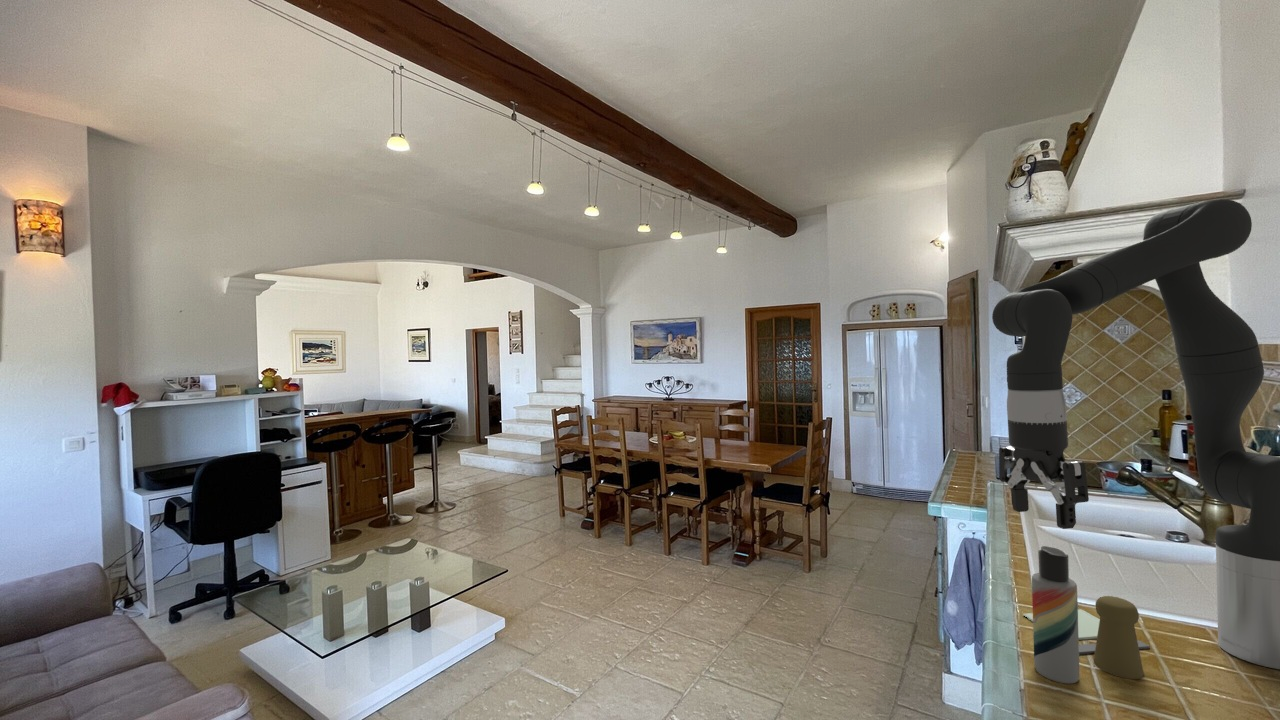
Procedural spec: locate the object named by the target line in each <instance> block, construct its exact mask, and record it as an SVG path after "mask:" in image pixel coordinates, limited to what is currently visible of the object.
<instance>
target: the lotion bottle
mask: <svg viewBox="0 0 1280 720" xmlns="http://www.w3.org/2000/svg"><path fill="white" fill-rule="evenodd" d="M1037 553H1038V554H1037V555H1038V572H1036V573H1033V574H1032V576H1031V598H1032V599H1031V600H1032V602H1031V603H1032V613H1033V622H1032V632H1033V633H1032V635H1033V638H1032V639H1033V660H1034V661H1033V662H1034V668H1035V670H1036V672H1037V673H1039V675H1041V676H1042V677H1045V678H1047V679H1048V680H1050V681H1054V682H1057V683H1061V684H1075V683H1077V682H1078V681H1079V680H1080V655H1079V645H1080V644H1079V643H1080V642H1079V641H1080V640H1079V636H1078V609H1079V608H1078V607H1079V606H1078V601H1079V600H1078V585H1077V582H1075V581H1074V580H1073V579H1071V578H1070V576H1069V575H1070V574H1069V572H1070V571H1069V570H1070V568H1069V566H1070V565H1069V554H1068V553H1067V552H1066V551H1064V550H1062V549H1061V548H1059V547H1058V548H1057V547H1054V546H1053V547H1052V546H1048V545H1047V546H1046V545H1042V546H1041V547H1040V548H1039V549H1038V551H1037Z"/></svg>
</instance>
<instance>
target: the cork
mask: <svg viewBox="0 0 1280 720" xmlns="http://www.w3.org/2000/svg"><path fill="white" fill-rule="evenodd" d="M1095 610H1096V614H1097V615H1098V616H1099V619H1100V621H1099V628H1098V635H1097V638H1096V648H1095V653H1094V656H1093V662H1094V663H1093V664H1095V666H1096V667H1098V668H1099V669H1100V670H1102V671H1104V672H1106V673H1107V674H1111V675H1113V676H1116V677H1120V678H1124V679H1130V680H1139V679H1141V678H1144V676H1145V674H1144V669H1143V668H1144V667H1143V663H1142V658H1141V653H1140V649H1139V647H1138V642H1137V640H1138V636H1137V632H1136V627H1135V625H1136V624H1137V623H1138V622H1139V618H1140V614H1139V611H1138V610H1139V609H1138V608H1137V607H1136V605H1134V603H1132V602H1131V601H1129V600H1127V599H1125V598H1120V597H1118V596H1113V595H1111V596H1110V595H1103V596H1099V597H1098V598H1097V599H1096V600H1095Z"/></svg>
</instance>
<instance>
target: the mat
mask: <svg viewBox="0 0 1280 720" xmlns="http://www.w3.org/2000/svg"><path fill="white" fill-rule="evenodd" d="M1024 616H1025V617H1027V618H1028V619H1027V618H1026V619H1027V620H1029V621H1030V620H1031V621H1030V622H1032V623H1033V612H1028V613H1022V617H1024ZM1025 617H1024V618H1025ZM1099 621H1100V618H1098V617H1097V616H1094V615H1093V614H1091V613H1089V612H1087V611H1085V610H1084V609H1081V608H1078V636H1079V641H1081V640H1093V639H1097V635H1098V628H1099Z"/></svg>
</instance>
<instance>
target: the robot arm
mask: <svg viewBox="0 0 1280 720" xmlns="http://www.w3.org/2000/svg"><path fill="white" fill-rule="evenodd" d="M1252 224H1253V222H1252V217H1251V214H1250V213H1249V210H1247V208H1246V207H1245V206H1244V205H1243V204H1242V203H1240V202H1238V201H1236V200H1232V199H1227V198H1217V199H1210V200H1208V199H1207V200H1202V201H1199V202H1195V203H1191V204H1187V205H1182V206H1180V207H1176V208H1172V209H1167V210H1164V211H1161V212H1158V213H1156V214H1154V215H1153V216H1151V217H1150V218H1149V219H1148V220H1147V222H1146V223H1145V225H1144V228H1143V231H1142V232H1143V233H1142V241H1138V242H1136V243H1133V244H1129V245H1128V246H1124V247H1121V248H1118V249H1116V250H1112V251H1109V252H1107V253H1104V254H1101V255H1099V256H1096V257H1093V258H1091V259H1089V260H1087V261H1085V262H1082V263H1080V264H1078V265H1076V266H1074V267H1072V268H1070V269H1068V270H1066V271H1064V272H1062V273H1060V274H1059V275H1057V276H1054V277H1052V278H1050V279H1047V280H1044V281H1041V282H1037V283H1034V284H1032V285H1028V286H1026V287H1024V288H1020V289H1018V290H1015V291H1013V292H1011V293H1009V294H1007V295H1005V296H1004V297H1003V298H1001V299H1000V300H999V301H998V302H997V303H996V305H995V306H994V308H993V311H992V314H991V315H992V316H991V318H992V319H991V320H992V323H993V325H994V327H995V328H996V329H997V330H998V331H999V332H1001V334H1004V335H1006V336H1010V337H1025V339H1024V344H1023V347H1022V349H1021V350H1020V351H1018V352H1015V353H1012V354H1010V355H1009V356H1008V357H1007V360H1006V381H1007V398H1006V412H1007V413H1006V414H1007V430H1008V444H1009V445H1010V446H1004V447H1003V446H1002V447H999V448H998V462H999V463H998V465H999V466H998V467H999V468H998V474H999V477H998V478H999V481H1000V482H1001V483H1006V484H1007V486H1008V488H1010V493H1011V505H1012V510H1013V511H1014V512H1016V513H1023V512H1028V511H1029V510H1030V509H1029V508H1030V507H1029V492H1028V491H1029V490H1028V488H1027V486H1028V485H1029V483H1030V482H1031V481H1034V482H1036V483H1039V484H1041V485H1043V487H1044V488H1045V489H1046V491H1049V492H1050V493H1051V495H1052V496H1053V498H1054V500H1055V502H1056V503H1055V513H1056V514H1055V515H1056V526H1057V528H1060V529H1063V530H1067V529H1073V528H1074V527H1075V526H1076V524H1077V519H1076V518H1077V517H1076V515H1077V514H1076V504H1079V503H1080V504H1081V503H1089V499H1090V498H1089V488H1088V480H1087V479H1088V478H1087V470H1086V469H1087V468H1086V464H1085V463H1084V461H1081V460H1078V461H1070V460H1069V461H1068V460H1066V458H1065V456H1064V451H1065V450H1066V449H1067V448H1068V447H1069V438H1068V435H1069V434H1068V432H1069V431H1068V419H1067V418H1068V417H1067V404H1066V398H1065V395H1064V393H1065V392H1064V389H1063V388H1064V386H1063V384H1064V383H1063V368H1062V367H1063V366H1062V362H1063V359H1064V355H1065V352H1066V348H1067V344H1068V339H1069V336H1070V333H1071V329H1072V323H1073V315H1077V314H1083V313H1085V312H1089V311H1091V310H1092V309H1093V310H1094V309H1095V308H1098V307H1100V306H1101V305H1103V304H1106V303H1107V302H1109V301H1112V300H1113V299H1115V298H1117V297H1119V296H1121V295H1123V294H1125V293H1127V292H1130V291H1131V290H1134V289H1136V288H1138V287H1140V286H1142V285H1144V284H1146V283H1148V282H1151V281H1154V280H1155V281H1156V282H1155V283H1156V285H1157V287H1158V290H1159V292H1160V295H1161V298H1162V301H1163V304H1164V307H1165V308H1164V309H1165V312H1166V314H1167V319H1168V322H1169V325H1170V329H1171V334H1172V336H1173V341H1174V342H1173V343H1174V347H1175V353H1176V357H1177V361H1178V365H1179V370H1180V374H1181V377H1182V379H1183V383H1184V387H1185V391H1186V394H1187V395H1186V396H1187V400H1188V405H1189V410H1190V415H1191V421H1192V426H1193V435H1194V436H1193V437H1194V443H1195V445H1194V446H1195V456H1196V467H1197V472H1198V476H1199V477H1198V478H1199V481H1200V484H1201V486H1202V488H1203V490H1204V491H1205V492H1206V494H1207V495H1208V496H1209V497H1210V498H1212V499H1214V500H1216V501H1218V502H1221V503H1225V504H1227V505H1232V506H1236V507H1240V508H1245V509H1249V510H1250V513H1249V520H1248V522H1247V524H1228V525H1227V524H1226V525H1222V526H1219V527H1217V529H1216V530H1215V561H1216V564H1215V565H1216V572H1215V573H1216V607H1217V608H1216V609H1217V611H1216V613H1217V614H1216V615H1217V644H1218V646H1219V647H1220V648H1221V649H1222V650H1223V651H1224V652H1227V653H1228V654H1230V655H1232V656H1234V657H1236V658H1238V659H1240V660H1243V661H1245V662H1249V663H1252V664H1255V665H1257V666H1258V665H1259V666H1262V667H1267V668H1270V669H1275V670H1280V456H1276V455H1270V454H1262V453H1258V452H1252V451H1251V452H1249V451H1246V448H1245V446H1244V444H1243V439H1242V434H1241V420H1242V419H1241V418H1242V416H1243V414H1244V411H1245V410H1246V408H1247V407H1248V405H1249V404H1250V402H1251V401H1252V399H1253V398H1254V396H1255V395H1256V394H1257V392H1258V389H1259V388H1260V386H1261V384H1262V382H1263V380H1264V376H1265V375H1264V374H1265V370H1264V369H1265V368H1264V363H1263V360H1262V354H1261V352H1260V347H1259V342H1258V338H1257V335H1256V333H1255V332H1254V330H1253V329H1252V328H1251V326H1249V324H1248V323H1247V322H1246V321H1245V320H1244V319H1243V318H1242V317H1241V316H1240V315H1239V314H1238V313H1236V312H1235V311H1234V310H1233V309H1231V307H1229V306H1228V305H1227V304H1226V303H1225V302H1224V301H1222V300H1221V299H1220V298H1219V297H1218V296H1217V295H1216V294H1215V293H1214V291H1212V289H1211V288H1210V286H1209V285H1208V283H1207V281H1206V279H1205V276H1204V273H1203V270H1202V267H1201V264H1200V263H1201V262H1204V261H1208V260H1212V259H1216V258H1221V257H1224V256H1226V255H1229V254H1232V253H1234V252H1235V251H1237V250H1239V249H1240V248H1241V247H1242V246H1243V245H1244V244H1245V243H1246V242H1247V240H1248V239H1249V237H1250V235H1251V232H1252V226H1253V225H1252ZM1008 469H1009V473H1008ZM1076 489H1077V494H1076ZM1061 491H1062V492H1063V493H1062V492H1061Z"/></svg>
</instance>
